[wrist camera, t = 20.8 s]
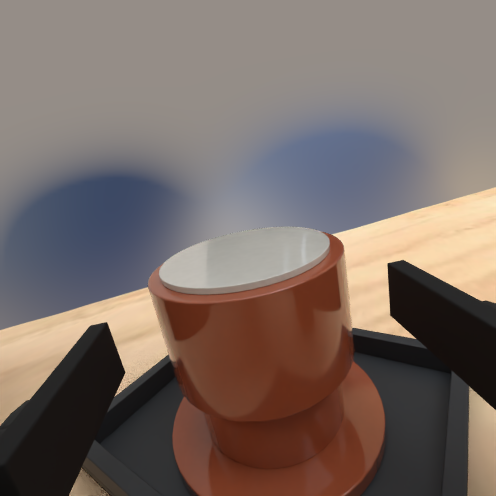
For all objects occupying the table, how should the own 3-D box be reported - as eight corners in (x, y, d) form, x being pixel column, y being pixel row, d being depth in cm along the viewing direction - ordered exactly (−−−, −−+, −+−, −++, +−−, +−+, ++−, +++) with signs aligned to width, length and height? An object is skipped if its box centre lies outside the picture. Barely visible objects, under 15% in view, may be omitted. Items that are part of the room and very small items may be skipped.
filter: (443, 497, 12) (443, 265, 9) (154, 564, 12) (61, 345, 9) (333, 331, 24) (319, 207, 21) (188, 362, 24) (153, 241, 21)
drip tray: (75, 461, 18) (63, 436, 17) (234, 323, 29) (230, 305, 29) (460, 839, 7) (462, 801, 6) (469, 375, 18) (469, 348, 18)
